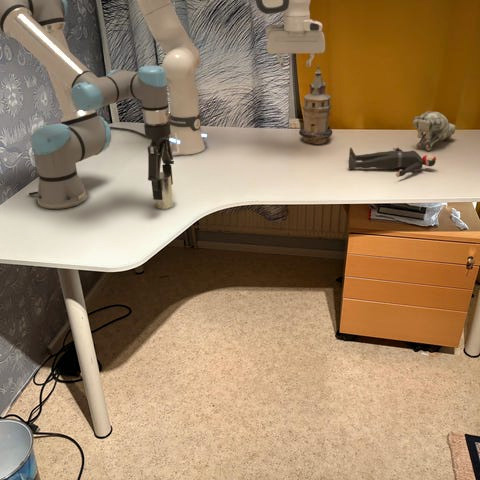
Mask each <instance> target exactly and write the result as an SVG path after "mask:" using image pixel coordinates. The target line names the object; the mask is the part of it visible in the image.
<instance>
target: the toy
mask: <svg viewBox="0 0 480 480" xmlns="http://www.w3.org/2000/svg"><path fill="white" fill-rule="evenodd" d="M348 153H349V154H348V169H349V170H354V169H372V168H374V169H390V170H393V169H397V168H405V169H399V170H398V172H396V173H395V177H396V178H401V177H403V176H405V175H406V174H408V173H412V172H418V171H421V169H422V167H423V166H426V167H433V166H435V165H436V160H437V157H436V156H435V155H433V154H426V155H423V157H421V155H420V154H419V153H418V152H417V151H416V150H408V151H403V150H402V149H401V148H400V147H398V146H397V147H392V150H389V151H377V152H373V153H365V154H364V153H363V154H356V153H355V152H354V150H353V148H352V147H350V148H349V152H348Z"/></svg>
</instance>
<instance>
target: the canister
mask: <svg viewBox="0 0 480 480" xmlns="http://www.w3.org/2000/svg"><path fill="white" fill-rule="evenodd" d="M160 179H161V186H162V197H163V199H162V200H155V205H156V208H157V209H160V210H167V209H171V208H173V206H174V198H173V186H172V185H173V184H171V174H169V173H166V172H163V171H160Z"/></svg>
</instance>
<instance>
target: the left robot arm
mask: <svg viewBox="0 0 480 480" xmlns="http://www.w3.org/2000/svg"><path fill="white" fill-rule="evenodd" d="M67 14H68V1H67V0H0V31H1V32H2V33H3V34H4V35H6V36H7V37H8V38H11V39H15V40H16V41H17V42H18V43H19V44H20V45H22V46H23V47H24V48H25V49H26V50H27V51H28V52H29V53H30V54H31V55H33V57H34V58H36V60H38V61H39V62H40V63H41V64H42V65H43V66H44V67H45V68H46V71H47V73H48V77H49V79H50V82H51V84H52V87H53V90H54V93H55V95H56V99H57V100H58V103H59V106H60V108H61V113H62V114H63V115H62V117H61V119H60V123H51V124H47V125H44V126H42V127H40V128H37V129H36V130H35V131H34V132H33V133H32V134H31V138H30V141H31V150H32V153H33V157H34V161H35V166H36V170H37V175H38V186H37V187H38V188H37V191H33V192H29V193H28V195H29V196H34V195H36V199H37V204H38V205H39V207H41V208H43V209H47V210H65V209H70V208H73V207H76V206H79V205H80V204H82V203H84V202H85V201H86V200H87V198H88V194H87V193H88V192H87V190H86V188H85V185H84V184H83V182H82V180H81V178H80V177H79V175H78V170H77V163H80V162H82V161H84V160H86V159H88V158H89V159H90V158H91V157H93V156H98V155H99V154H101V153H102V152H104V151H106V150H107V149H108V148H109V147H110V144H111V143H112V130H111V129H110V127H111V126H110V125H109V123H108V122H107V120H105V118H104V117H102V116H99V115H98V112H97V110H99V109H101V108H103V107H106V106H109V105H111V104H116V103H118V102H123V101H125V100H128V99H129V100H131V99H133V100H138V101H141V110H142V111H141V112H142V121H143V123H144V124H143V127H144V129H143V130H144V135H146V136H147V137H148V138H151V139H150V141H151V142H150V146H147V155H148V158H147V159H148V161H147V162H148V163H147V164H148V167H147V169H148V170H147V171H148V172H147V173H148V175H147V176H148V177H147V180H148V181H150V182H151V190H152V199H153V200H155V201H156V200H162V199H163V197H162V186H161V179H160V173H161V168H162V172H166V173H169V174H171V184H172V185H173V184H174V182H173V169H172V165H174V164H175V161H174V156H173V155H172V150H171V146H170V141H169V135H170V134H171V129H170V122H169V120H170V119H169V114H171V110H170V109H169V107H170V106H169V93H168V87H167V80H166V73H165V69H164V68H163V67H162V65H144V66H141V67H139V69H138V72H137V71H131V70H126V69H112V70H110V71H109V72H108V73H107V74H106V75H104V76H101V77H98V76H97V75H95V74H94V73H93V71H91V70H90V69H89V68H88V67H87V66H85V65H84V64H83V63H82V61H80V59H78V58H77V57H76V56H75V55H73V54H72V53H71V50H70V47H69V44H68V41H67V39H66V38H67V37H66V36H65V33H64V28H65V26H66V20H65V18H66V16H67ZM148 138H147V139H148ZM161 164H162V165H161ZM161 166H162V167H161Z"/></svg>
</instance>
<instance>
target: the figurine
mask: <svg viewBox="0 0 480 480" xmlns="http://www.w3.org/2000/svg"><path fill="white" fill-rule="evenodd" d="M412 126H414V127H415V129H416V131H417V136H416V138H418V139H420V140H419V141H418V143H416V148H417V149H420V150H421V149H423V147H424V144H425V143H426V142H427V141H428V143H427V144H426V146H425V150H426V151H428V152H430V151H432V147H433V145H434V144H435V143H436V142H442V141H444V140H450V141H451V139H452V135H454V134H455V132H456V125H455V124H454V123H450V122H449V120H448V119H447V117H446V116H445V115H444V114H442V113H440V112H438V111H426V112H424V113H422V114H421V115H420V116H415V117H414V118H413V120H412Z"/></svg>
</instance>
